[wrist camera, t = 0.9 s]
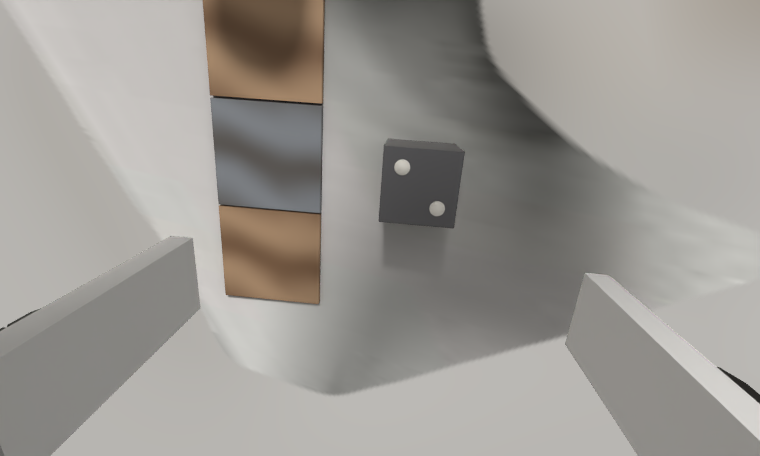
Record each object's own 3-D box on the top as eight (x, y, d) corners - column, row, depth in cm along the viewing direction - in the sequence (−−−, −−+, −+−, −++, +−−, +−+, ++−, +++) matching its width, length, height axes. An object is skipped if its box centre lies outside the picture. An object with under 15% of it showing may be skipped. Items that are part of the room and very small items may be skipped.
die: (387, 138, 33) (382, 145, 27) (454, 143, 33) (464, 152, 27) (382, 202, 35) (377, 222, 29) (446, 208, 35) (453, 228, 29)
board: (203, -33, 30) (200, -36, 29) (325, -26, 29) (323, -29, 29) (227, 292, 39) (225, 294, 39) (319, 301, 39) (318, 303, 38)
